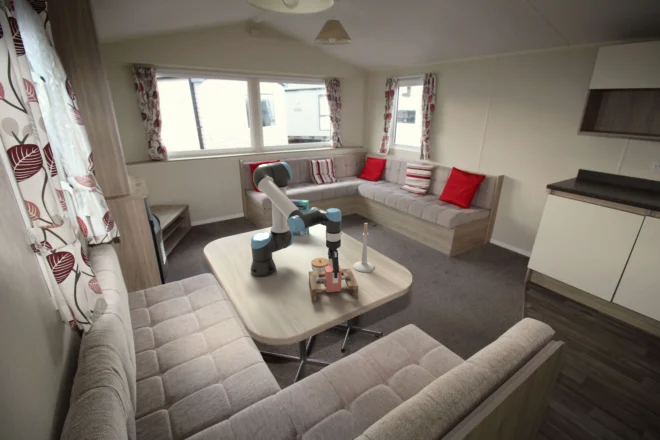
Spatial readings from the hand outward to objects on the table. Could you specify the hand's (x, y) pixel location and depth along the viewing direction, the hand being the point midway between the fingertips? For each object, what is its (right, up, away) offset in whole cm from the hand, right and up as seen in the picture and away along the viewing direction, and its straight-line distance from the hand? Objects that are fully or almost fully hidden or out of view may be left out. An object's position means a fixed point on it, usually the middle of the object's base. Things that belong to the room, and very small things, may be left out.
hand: (333, 275), depth 161 cm
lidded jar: (-7, -3, +24) cm, 25 cm away
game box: (-29, +19, +81) cm, 88 cm away
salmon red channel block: (0, -7, +3) cm, 8 cm away
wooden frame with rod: (0, -9, +6) cm, 11 cm away
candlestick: (+20, 0, +31) cm, 36 cm away
